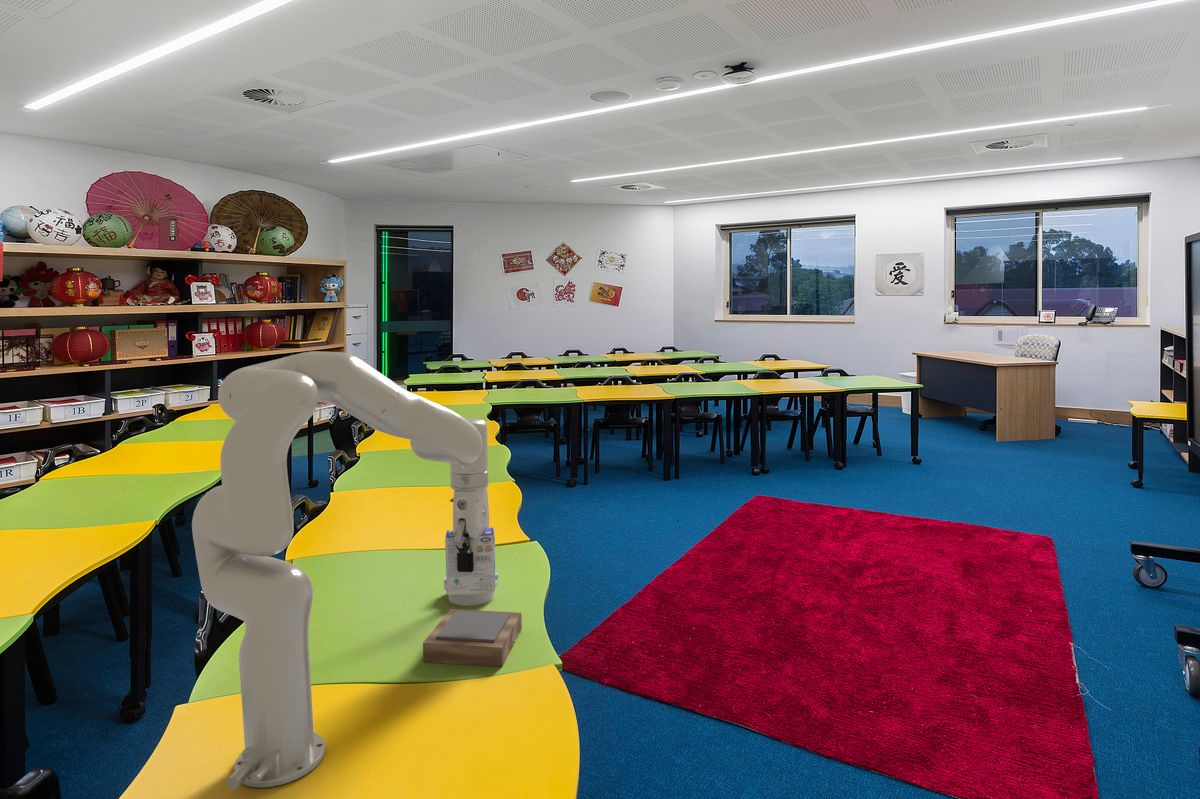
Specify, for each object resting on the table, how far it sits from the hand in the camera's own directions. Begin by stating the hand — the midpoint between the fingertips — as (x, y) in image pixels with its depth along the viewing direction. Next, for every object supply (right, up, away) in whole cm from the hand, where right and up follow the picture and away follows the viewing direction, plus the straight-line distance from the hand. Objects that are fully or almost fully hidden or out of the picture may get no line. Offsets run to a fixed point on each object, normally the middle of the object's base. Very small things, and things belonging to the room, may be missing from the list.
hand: (471, 564), depth 139 cm
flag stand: (-5, -15, +27) cm, 31 cm away
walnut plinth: (0, -17, +2) cm, 17 cm away
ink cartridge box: (0, -5, +1) cm, 5 cm away
